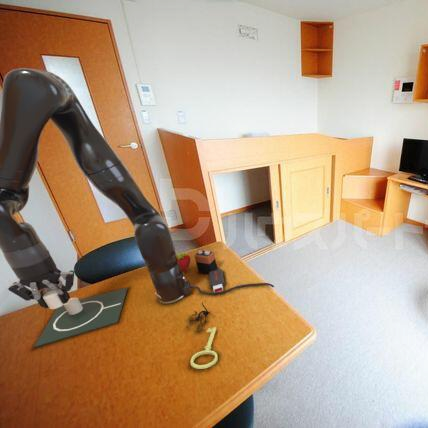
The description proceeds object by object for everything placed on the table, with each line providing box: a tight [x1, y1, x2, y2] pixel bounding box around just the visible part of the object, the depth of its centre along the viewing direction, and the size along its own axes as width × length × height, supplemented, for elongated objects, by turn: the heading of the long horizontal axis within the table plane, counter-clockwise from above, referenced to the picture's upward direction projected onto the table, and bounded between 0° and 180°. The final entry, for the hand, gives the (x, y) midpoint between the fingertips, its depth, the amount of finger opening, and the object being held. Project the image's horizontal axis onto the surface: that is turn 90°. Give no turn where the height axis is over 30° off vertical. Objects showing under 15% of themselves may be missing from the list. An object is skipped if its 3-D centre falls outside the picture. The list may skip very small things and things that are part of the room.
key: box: [189, 326, 219, 370], centre depth 71 cm, size 7×12×2 cm, turn 23°
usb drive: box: [208, 268, 226, 293], centre depth 97 cm, size 5×12×3 cm, turn 26°
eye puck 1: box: [43, 290, 64, 310], centre depth 73 cm, size 4×4×4 cm
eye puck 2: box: [64, 296, 83, 315], centre depth 82 cm, size 4×4×4 cm
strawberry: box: [176, 251, 191, 272], centre depth 102 cm, size 6×8×10 cm
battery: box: [194, 249, 218, 275], centre depth 102 cm, size 4×7×10 cm, turn 78°
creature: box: [185, 301, 210, 333], centre depth 79 cm, size 8×5×8 cm
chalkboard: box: [33, 287, 129, 349], centre depth 82 cm, size 20×18×1 cm
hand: (57, 303), depth 74 cm, fingers closed on eye puck 1, 3 cm apart
